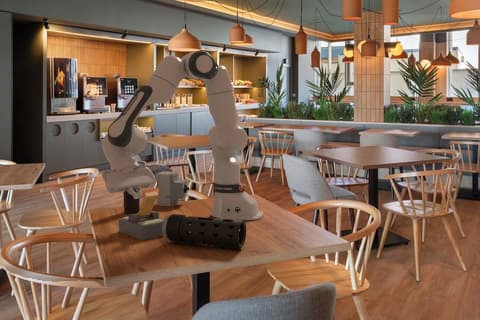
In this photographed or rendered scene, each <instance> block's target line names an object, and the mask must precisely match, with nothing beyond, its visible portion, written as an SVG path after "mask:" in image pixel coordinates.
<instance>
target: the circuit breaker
mask: <svg viewBox="0 0 480 320" xmlns="http://www.w3.org/2000/svg"><path fill="white" fill-rule="evenodd" d="M155 178H156V184H157V185H158V197H157V198H156V204H157V205H156V206H161V207H175V206H176V205H178V204H179V201H180V200H179V199H181V200H182V199H185V198H186V197H187V196H188V191H189V190H190V186H188V180H187V179H179V171H161V172H158V173H156V177H155ZM174 203H175V204H174Z"/></svg>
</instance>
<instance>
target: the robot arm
mask: <svg viewBox="0 0 480 320" xmlns="http://www.w3.org/2000/svg"><path fill="white" fill-rule="evenodd" d="M184 79H187V80H201V81H202V82H203V84H204V85H205V91H206V98H207V104H208V109H209V114H210V115H211V117H212V120H213V122H214V126H212V127H210V130H209V131H208V133H207V134H208V135H207V138H208V142H209V143H210V147H211V148H210V149H211V153H212V154H211V155H212V159H213V165H214V168H213V169H214V173H213V174H214V182H213V186H212V192H213V202H212V208H211V213H210V216H212V218H219V219H230V220H243V221H257V220H261V218H262V217H264V212H263V211H262V210H259V206H258V201H257V200H256V199H255V198H254V197H252V195H250V194H248V193H247V191H246V190H245V189H246V183H242V182H241V164H240V161H239V158H238V154H237V152H240V151H242V150H244V149H245V148H246V146H247V145H248V141H249V136H248V134H247V132H246V130H245V129H244V126H243V124H242V121H241V119H240V117H239V114H238V110H237V107H236V100H235V95H234V94H235V93H234V89H233V85H232V84H233V83H232V79H231V77H230V73H229V70H228V68H227V67H225V66H224V65H222V64H221V65H220V64H218V63H217V61H215V59H214V57H213V56H212V55H211V54H210V53H209V52H207V51H205V50H194V51H191V52H189V53H185V54H184V55H182V56H180V57H178V56H175V55H172V54H171V55H166V56H165V57H163V58H162V60H160V62H159V63H158V65H157V66H156V67H155V69H154V71H153V73H152V74H151V76H150V77H149V80H148V81H147V82H146V83H145V84H144V85H142V86H140V87H139V88H138V89H137V90H136V92H135V93H134V94H133V95H132V97H131V98H130V100H128V101H129V102H127V104H126V106H125V107H124V108H123V110H122V111H121V113H120V114H119V115H118V116H117V117H116V119H115V120H113V121H112V123H110V124H109V126H108V129H107V134H106V135H105V136H104V137H103V138H102V140H101V148H102V151H103V154H104V156H105V158H106V160H107V161H108V162H109V165H110V168H111V170H104V171H103V172H102V173H101V177H102V179H103V181H104V184H105V185H104V186H105V188H106V190H107V192H108V193H109V194H114V193H116V194H117V193H121V192H122V193H123V191H128V193H129V194H131V195H132V196H133V197H134V199H137V198H139V199H142V197H143V196H144V195H143V193H142V190H143V189H150V188H151V189H152V188H153V187H154V186H155V184H157V179H156V178H157V177H156V176H155V175H154V173H153V171H152V170H151V169H150V168H149V167H148V164H147V162H146V161H142V160H137V159H134V158H133V157H136V156H137V155H139V154H141V153H142V152H144V151H145V150H146V149H147V147H148V145H149V144H148V143H149V137H148V135H147V133H146V132H145V131H143V130H141V129H140V128H138V127H136V126H134V125H135V122H136V121H137V119H138V118H139V117H140V116H141V114H142V112H143V111H144V109H145V108H146V107H147V106H149V105H153V104H156V105H158V104H159V105H160V104H161V105H163V104H165V103H168V102H169V101H170V100H171V99H172V98H173V97H174V95H175V94H176V91H177V89H178V87H179V86H180V84H181V82H182V81H183V80H184ZM133 190H136V191H138V193H136V192H135V191H133Z"/></svg>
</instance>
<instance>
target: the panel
mask: <svg viewBox="0 0 480 320" xmlns="http://www.w3.org/2000/svg"><path fill="white" fill-rule="evenodd" d="M164 219H165V218H161V217H159V212H158V211H156V210H152V211H151V217H149V218H144V219H140V216H139V215H137V213H136V214H133V213H132V214H127V216H125V217H122V218H120V217H119V218H118V232H120V233H122V234H124V235H127V236H129V237H132V238H135V239H138V240H139V241H140V240H141V241H144V240H150V239H154V238H158V237H162V236H163V234H162V224H163V221H164Z"/></svg>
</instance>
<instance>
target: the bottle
mask: <svg viewBox="0 0 480 320" xmlns="http://www.w3.org/2000/svg"><path fill="white" fill-rule="evenodd" d="M133 191H135V192H136V193H138V191H136V190H133ZM122 193H123V213H124V214H127V215H128V214H132V213H133V214H136V215H137V214H138V213H139V210H140V207H141V205H140V203H141V202H140V201H141V200H140V198H137V199H134V197H133V196H132V195H131V194H129V193H128V191H123V192H122Z"/></svg>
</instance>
